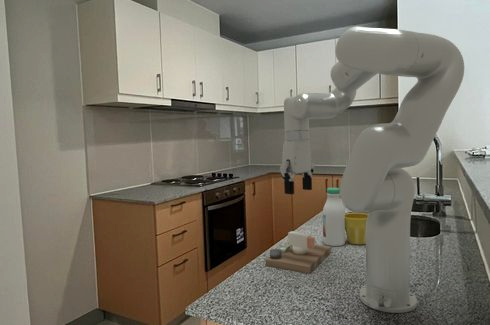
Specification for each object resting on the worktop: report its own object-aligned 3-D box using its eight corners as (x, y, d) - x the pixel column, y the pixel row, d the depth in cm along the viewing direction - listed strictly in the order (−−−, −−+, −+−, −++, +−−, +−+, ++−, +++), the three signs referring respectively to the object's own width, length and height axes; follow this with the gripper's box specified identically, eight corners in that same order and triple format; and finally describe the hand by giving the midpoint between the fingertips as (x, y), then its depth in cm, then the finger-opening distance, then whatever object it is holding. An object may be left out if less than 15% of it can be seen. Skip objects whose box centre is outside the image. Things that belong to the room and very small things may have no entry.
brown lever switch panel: (309, 273, 100) (309, 260, 100) (265, 265, 108) (265, 253, 107) (331, 252, 117) (330, 240, 117) (292, 246, 125) (291, 235, 124)
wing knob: (286, 251, 113) (286, 233, 113) (294, 248, 116) (294, 230, 116) (309, 257, 107) (309, 238, 107) (317, 253, 110) (316, 234, 110)
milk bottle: (349, 242, 127) (348, 187, 126) (338, 248, 122) (337, 190, 120) (330, 238, 132) (329, 186, 131) (319, 244, 127) (318, 188, 125)
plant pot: (342, 237, 134) (342, 211, 133) (371, 238, 131) (371, 212, 130) (342, 245, 124) (342, 218, 123) (373, 247, 121) (373, 219, 120)
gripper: (302, 136, 118) (304, 187, 119) (270, 138, 106) (271, 194, 107) (322, 136, 113) (323, 189, 114) (290, 137, 101) (292, 196, 102)
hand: (298, 191), depth 111 cm, fingers open, 9 cm apart
